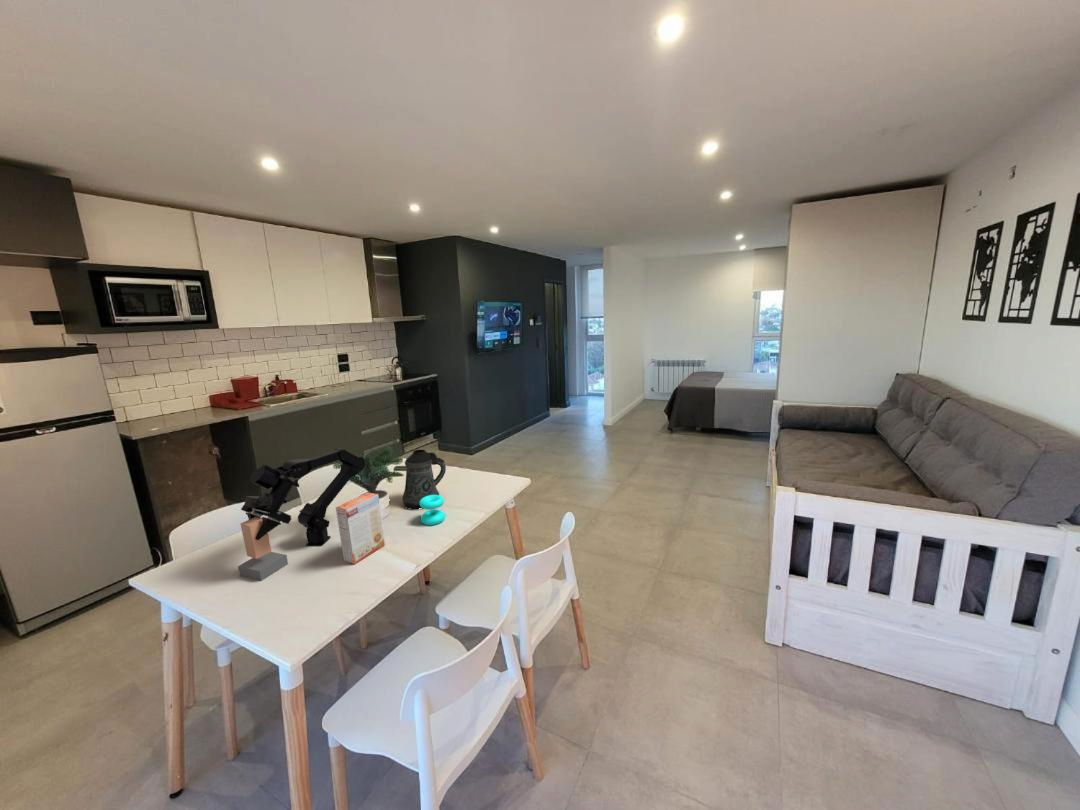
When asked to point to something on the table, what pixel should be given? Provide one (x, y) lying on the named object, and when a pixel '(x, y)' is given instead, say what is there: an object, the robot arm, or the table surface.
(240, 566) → the charcoal box
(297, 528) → the table surface
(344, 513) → the cracker box
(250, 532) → the terracotta block
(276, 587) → the table surface
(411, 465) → the beer stein
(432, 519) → the donuts
